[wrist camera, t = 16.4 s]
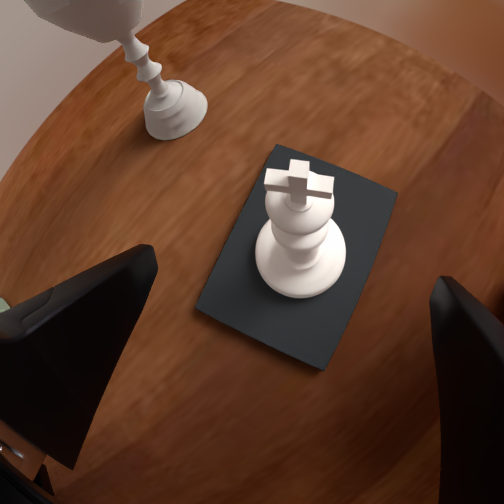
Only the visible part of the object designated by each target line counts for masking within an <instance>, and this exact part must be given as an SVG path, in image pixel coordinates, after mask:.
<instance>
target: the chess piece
mask: <svg viewBox="0 0 504 504" xmlns="http://www.w3.org/2000/svg"><path fill="white" fill-rule="evenodd" d="M333 184H334V177H331V176H324V175H318V174H316V173H314V172H311V171H309V161H301V160H293V159H291V160H290V166H289V171H287V170H278V169H269V168H267V170H266V175H265V181H264V186H265V189H266V191H267V193H266V198H265V206H266V211H267V214H268V216H269V218H270V219H269V220H268V221H267V222H266V223H265V225H264V226H263V228H262V229H261V231H260V233H259V235H258V238H257V242H256V249H255V255H256V263H257V267H258V270H259V272H260V274H261V276H262V278H263V279H264V280H265V282H266V283H267V284H268V285H269V286H270V287H271V288H272V289H274V290H275V291H277V292H278V293H280V294H283V295H285V296H288V297H293V298H308V297H313V296H316V295H318V294H321V293H323V292H324V291H326V290H327V289H329V288H330V287H331V286H332V285H333V284H334V283H335V282H336V280H337V279H338V278H339V276H340V274H341V272H342V270H343V267H344V264H345V257H346V248H345V241H344V238H343V235H342V233H341V231H340V229H339V227H338V226H337V225H336V223H335V222H334V221H333V220H332V219H331V215H332V213H333V210H334V196H333Z"/></svg>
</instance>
